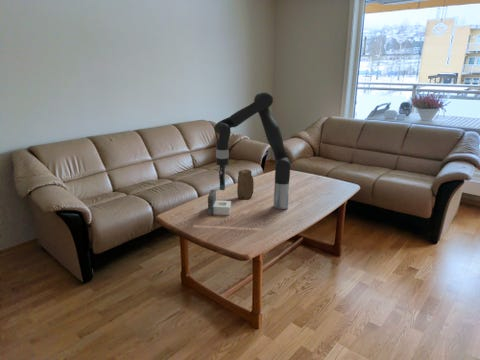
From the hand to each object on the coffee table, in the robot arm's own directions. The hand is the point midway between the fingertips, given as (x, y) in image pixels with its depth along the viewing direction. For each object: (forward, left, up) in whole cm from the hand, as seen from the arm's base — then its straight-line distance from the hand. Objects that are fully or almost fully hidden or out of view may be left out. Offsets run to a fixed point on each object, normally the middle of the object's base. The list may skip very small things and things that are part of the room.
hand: (222, 183), depth 209 cm
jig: (-2, 0, -20) cm, 20 cm away
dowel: (0, 0, -4) cm, 4 cm away
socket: (0, 0, -18) cm, 18 cm away
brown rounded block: (-13, -28, -20) cm, 37 cm away
